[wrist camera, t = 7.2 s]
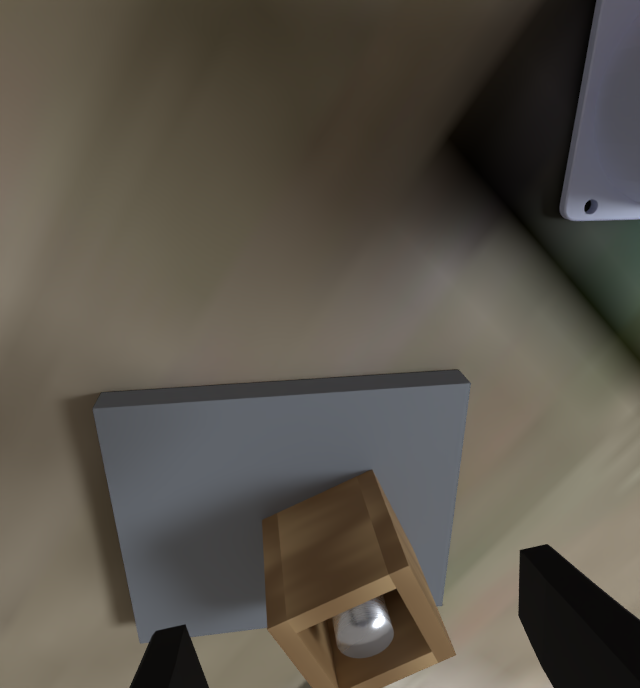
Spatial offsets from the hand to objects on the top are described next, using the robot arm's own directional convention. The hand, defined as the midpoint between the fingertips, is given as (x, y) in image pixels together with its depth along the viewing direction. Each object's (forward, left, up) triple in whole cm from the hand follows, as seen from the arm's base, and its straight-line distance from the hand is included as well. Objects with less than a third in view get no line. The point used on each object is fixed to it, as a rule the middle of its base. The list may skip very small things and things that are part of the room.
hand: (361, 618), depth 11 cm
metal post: (-1, +7, -10) cm, 12 cm away
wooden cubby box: (-1, +7, -9) cm, 11 cm away
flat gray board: (+1, +6, -10) cm, 12 cm away
